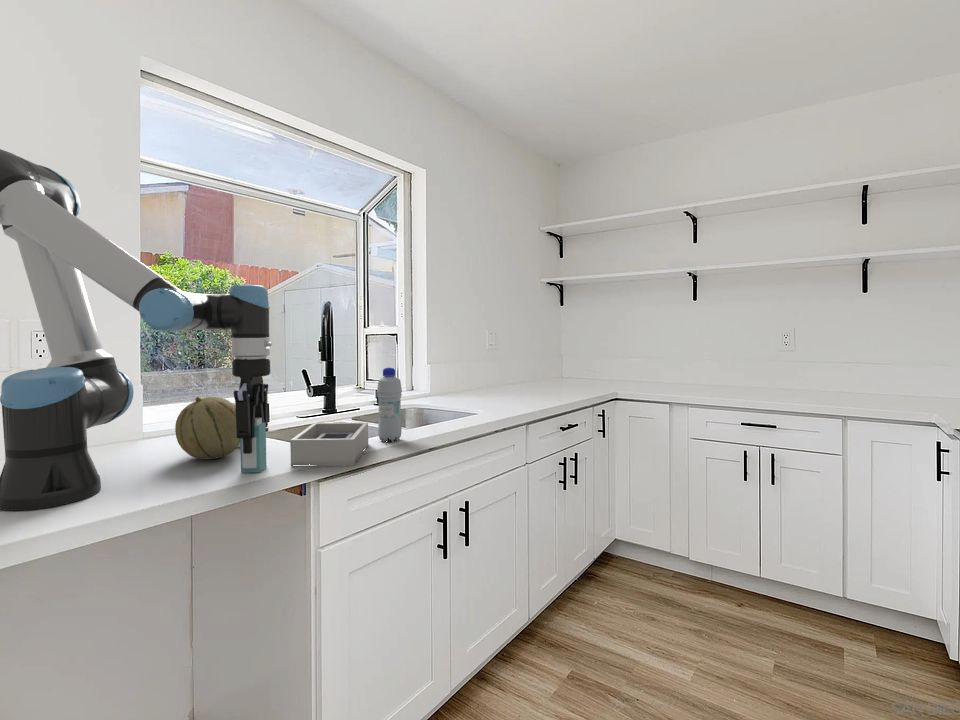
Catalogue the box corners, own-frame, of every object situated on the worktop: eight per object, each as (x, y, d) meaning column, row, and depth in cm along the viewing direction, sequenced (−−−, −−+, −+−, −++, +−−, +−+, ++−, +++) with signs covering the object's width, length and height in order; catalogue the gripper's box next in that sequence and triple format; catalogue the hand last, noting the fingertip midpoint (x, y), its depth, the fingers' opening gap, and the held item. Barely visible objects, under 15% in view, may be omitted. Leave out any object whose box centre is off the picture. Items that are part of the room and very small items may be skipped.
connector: (260, 472, 112) (258, 420, 111) (240, 472, 112) (239, 420, 111) (266, 467, 116) (265, 417, 115) (248, 467, 116) (246, 417, 115)
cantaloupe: (259, 453, 129) (257, 393, 128) (210, 469, 115) (207, 401, 114) (213, 448, 134) (211, 390, 133) (160, 463, 120) (158, 398, 119)
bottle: (372, 441, 141) (371, 368, 140) (385, 436, 148) (384, 366, 146) (395, 443, 139) (394, 368, 138) (406, 438, 145) (406, 366, 144)
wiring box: (354, 465, 118) (353, 439, 117) (290, 466, 117) (290, 440, 117) (368, 445, 138) (368, 422, 137) (314, 445, 137) (313, 423, 136)
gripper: (254, 360, 104) (256, 475, 106) (281, 355, 121) (283, 454, 123) (215, 360, 104) (218, 476, 105) (248, 355, 121) (251, 455, 122)
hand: (253, 464), depth 114 cm, fingers closed on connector, 4 cm apart
